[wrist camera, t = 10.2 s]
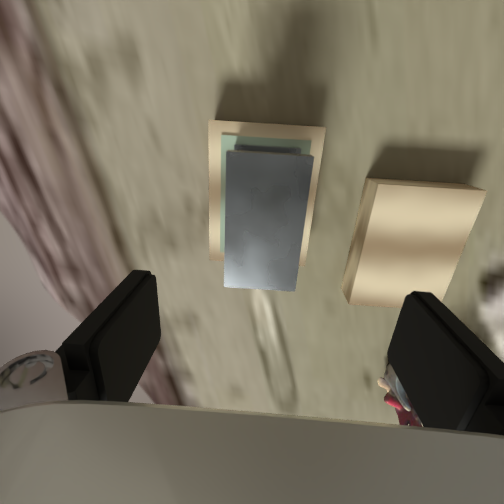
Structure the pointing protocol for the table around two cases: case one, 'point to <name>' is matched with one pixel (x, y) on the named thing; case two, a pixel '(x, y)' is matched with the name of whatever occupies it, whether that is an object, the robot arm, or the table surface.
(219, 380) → the table surface
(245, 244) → the block
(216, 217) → the stand
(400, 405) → the motor mount assembly
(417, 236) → the stand
